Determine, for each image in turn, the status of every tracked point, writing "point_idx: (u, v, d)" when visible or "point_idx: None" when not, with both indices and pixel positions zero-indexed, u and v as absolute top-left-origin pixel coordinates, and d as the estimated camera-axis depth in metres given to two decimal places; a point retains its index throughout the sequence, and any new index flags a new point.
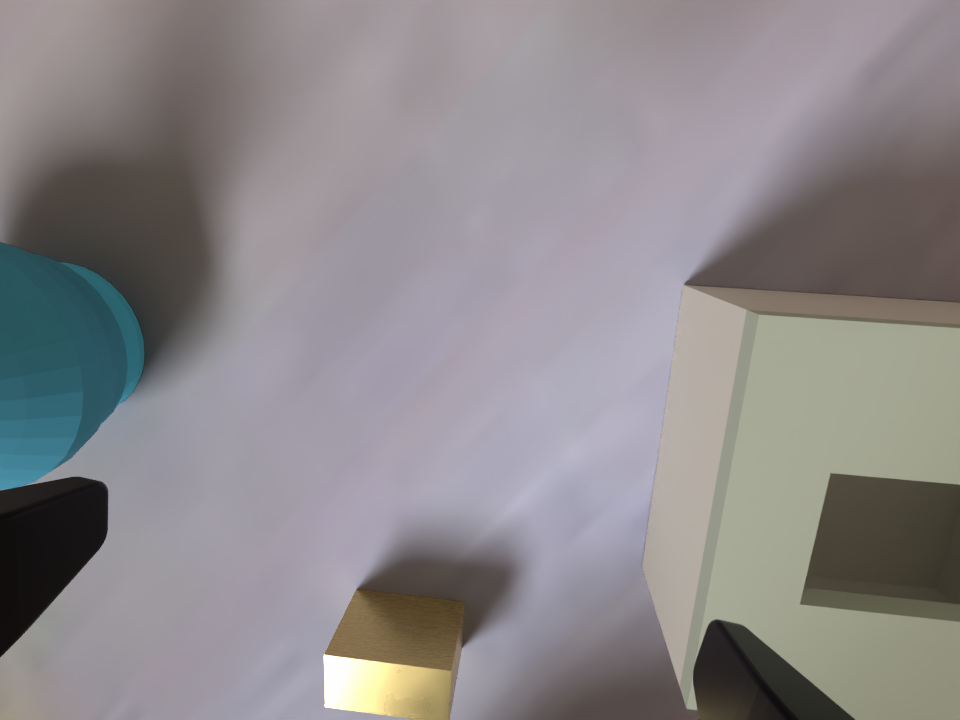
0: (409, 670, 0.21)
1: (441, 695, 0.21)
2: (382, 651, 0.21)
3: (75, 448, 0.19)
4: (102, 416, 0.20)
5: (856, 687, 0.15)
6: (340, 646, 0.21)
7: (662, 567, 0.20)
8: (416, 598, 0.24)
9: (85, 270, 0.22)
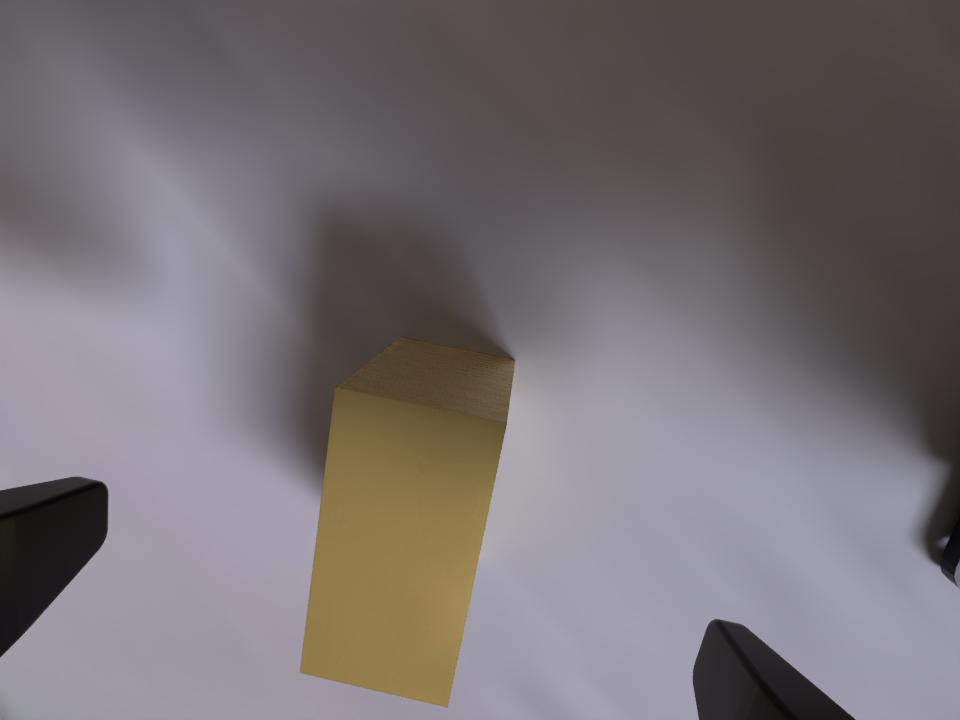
0: (336, 492, 0.08)
1: (413, 426, 0.08)
2: None
3: None
4: None
5: None
6: None
7: None
8: None
9: None
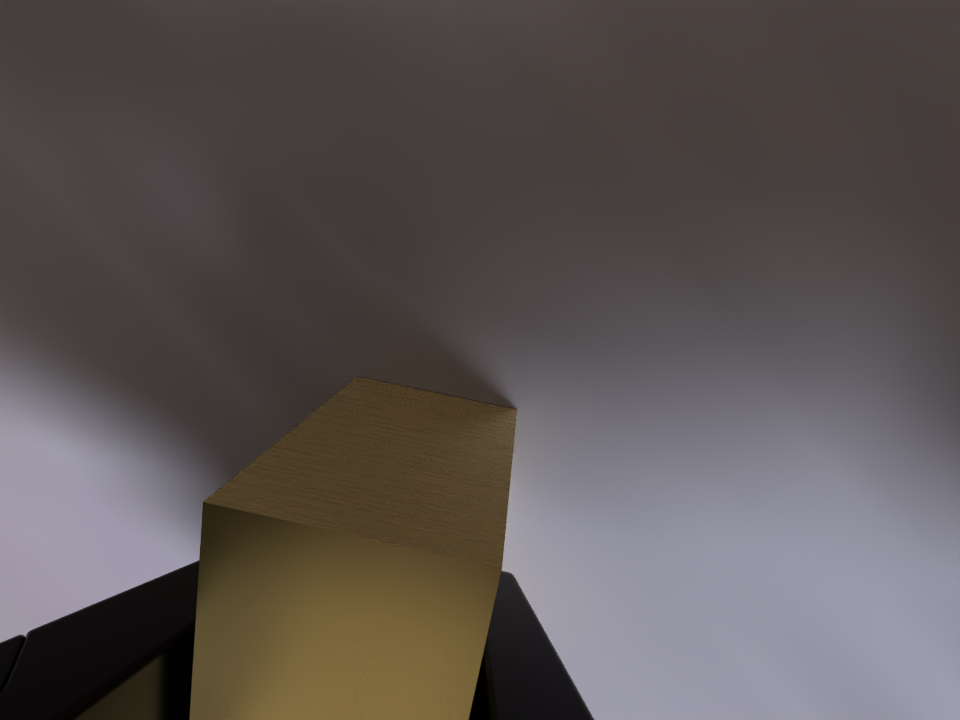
0: (217, 669, 0.05)
1: (339, 568, 0.04)
2: None
3: None
4: None
5: None
6: None
7: None
8: None
9: None
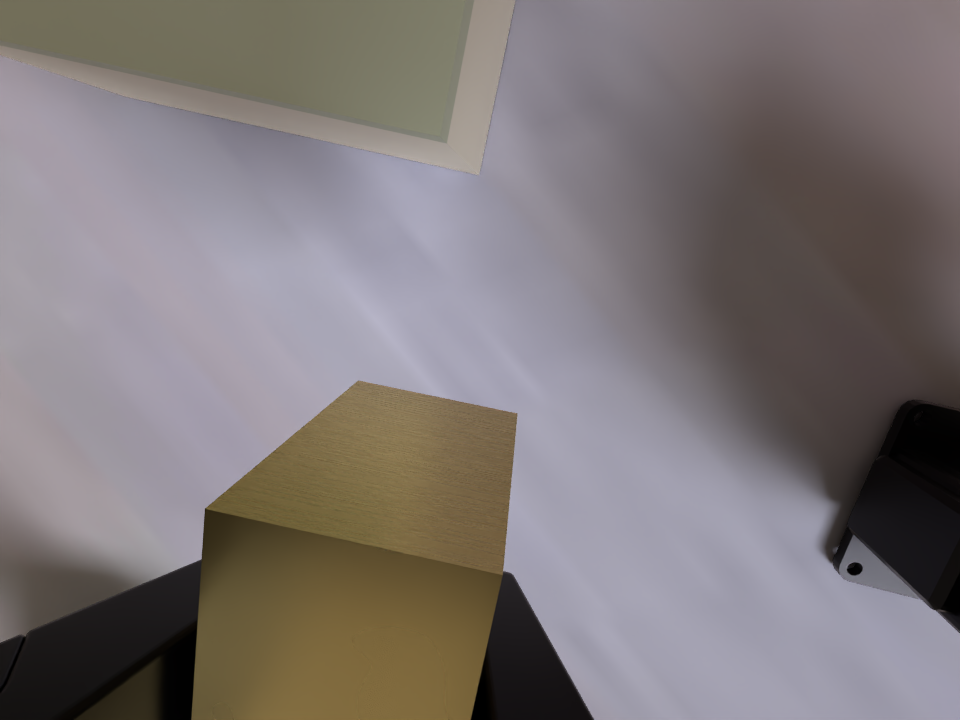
0: (218, 675, 0.05)
1: (340, 575, 0.04)
2: None
3: None
4: None
5: None
6: None
7: (401, 149, 0.15)
8: None
9: None
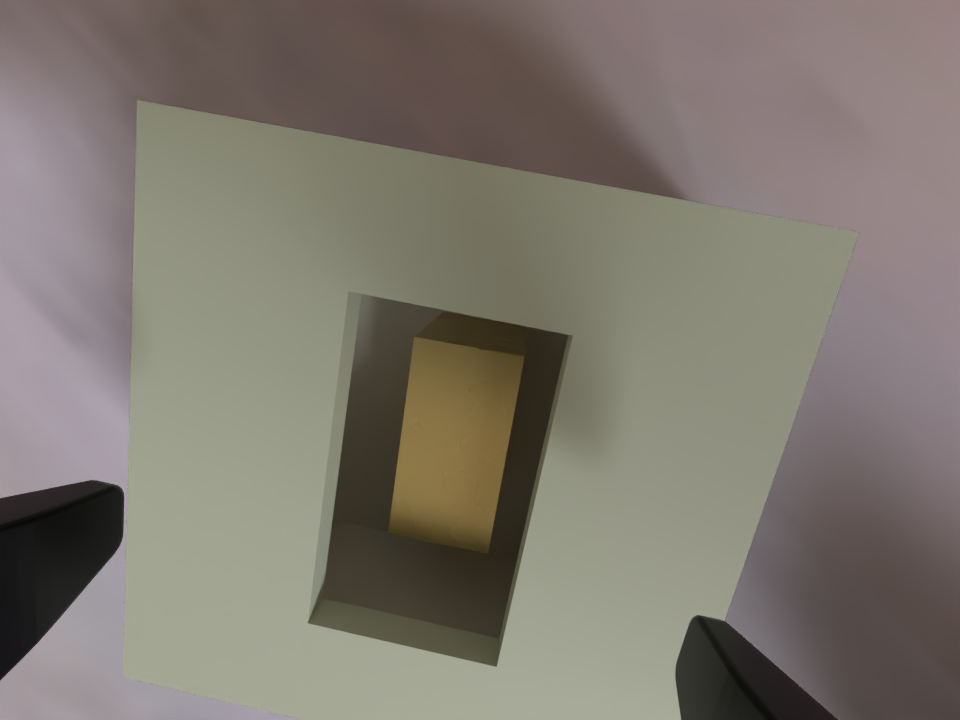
0: (414, 406, 0.12)
1: (464, 360, 0.12)
2: None
3: None
4: None
5: (644, 609, 0.10)
6: None
7: None
8: None
9: None
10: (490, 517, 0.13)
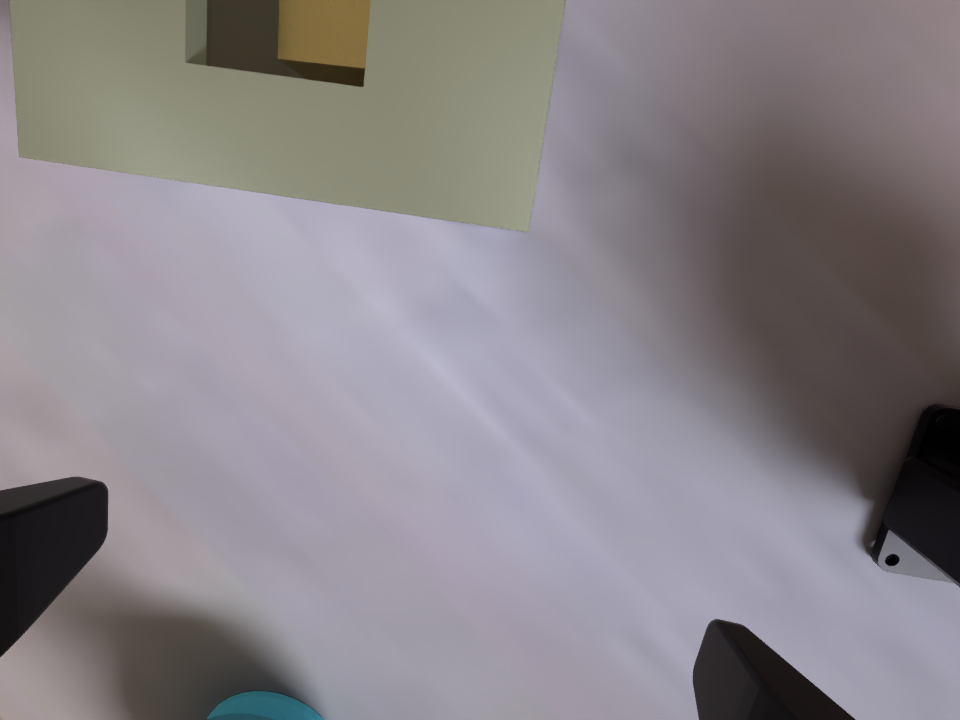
0: None
1: None
2: None
3: None
4: None
5: None
6: None
7: None
8: None
9: None
10: None
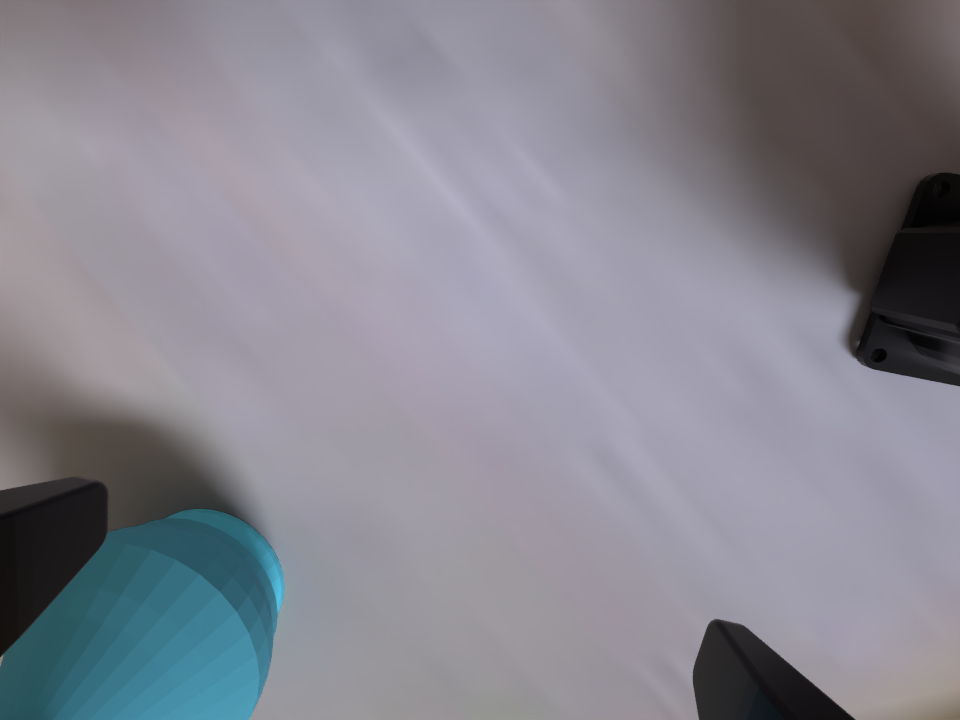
0: None
1: None
2: None
3: (223, 582, 0.19)
4: (217, 552, 0.20)
5: None
6: None
7: None
8: None
9: None
10: None
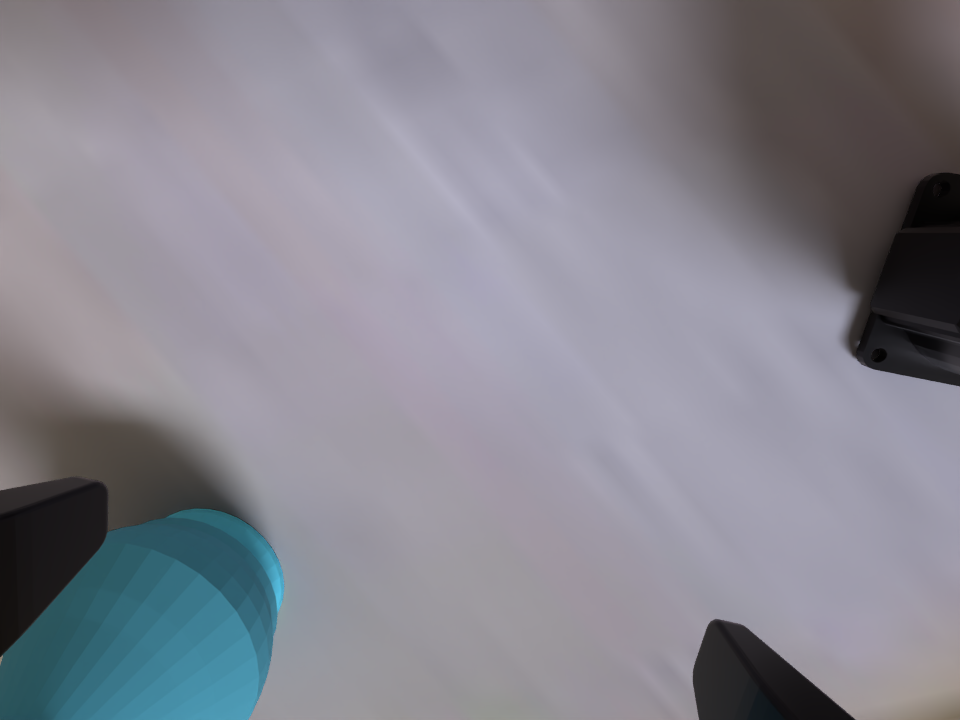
0: None
1: None
2: None
3: (223, 582, 0.19)
4: (216, 552, 0.20)
5: None
6: None
7: None
8: None
9: None
10: None
